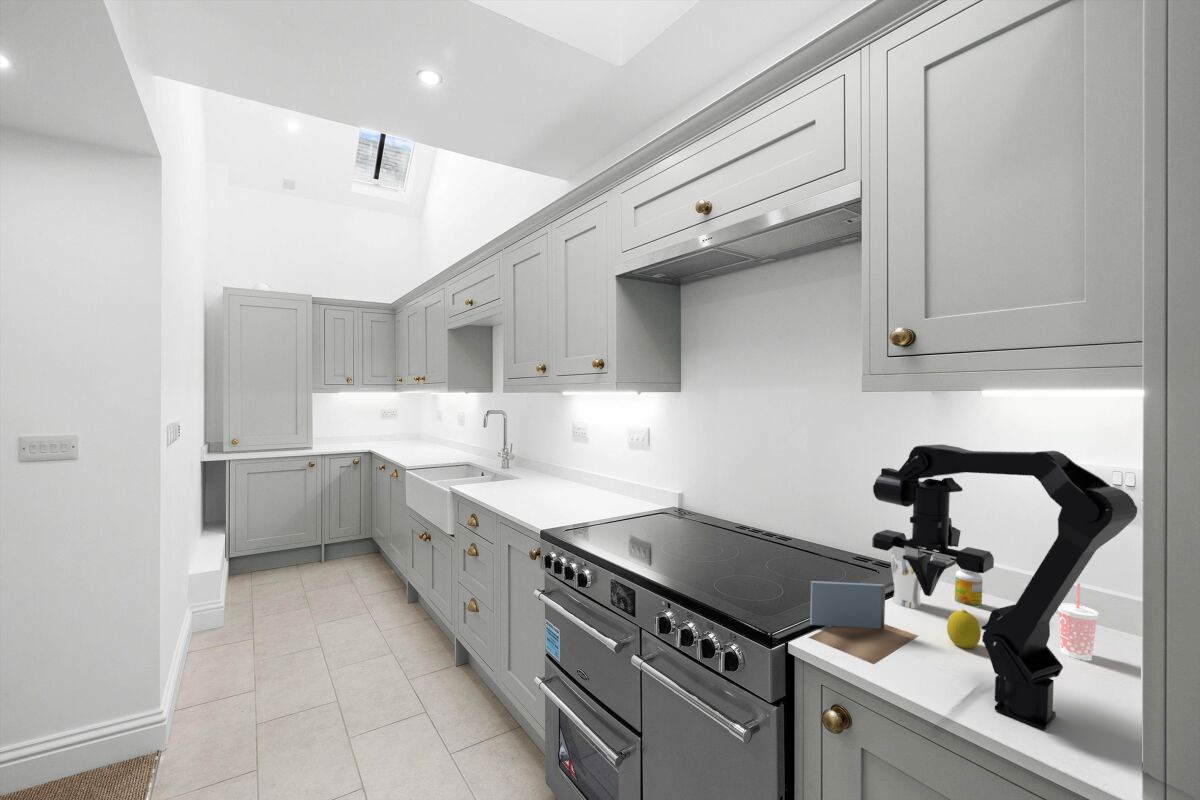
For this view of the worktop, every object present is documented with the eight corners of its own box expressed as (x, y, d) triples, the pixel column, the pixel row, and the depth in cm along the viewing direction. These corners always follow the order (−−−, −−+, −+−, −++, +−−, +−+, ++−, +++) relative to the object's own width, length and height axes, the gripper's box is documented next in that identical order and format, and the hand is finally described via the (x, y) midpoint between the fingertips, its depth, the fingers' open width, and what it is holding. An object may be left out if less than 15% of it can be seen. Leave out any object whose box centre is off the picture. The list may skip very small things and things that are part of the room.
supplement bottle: (949, 600, 132) (950, 560, 132) (969, 599, 133) (970, 560, 133) (966, 609, 127) (967, 568, 127) (987, 608, 128) (988, 567, 127)
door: (885, 628, 113) (886, 586, 113) (811, 624, 115) (812, 582, 114) (880, 624, 115) (881, 582, 115) (808, 620, 117) (809, 579, 116)
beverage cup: (1057, 643, 110) (1059, 575, 110) (1098, 654, 106) (1100, 583, 105) (1053, 654, 106) (1056, 583, 105) (1096, 666, 101) (1099, 592, 101)
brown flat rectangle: (918, 640, 111) (918, 635, 111) (873, 669, 99) (873, 663, 99) (855, 618, 121) (855, 613, 121) (808, 642, 110) (808, 637, 109)
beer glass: (885, 600, 132) (886, 539, 131) (915, 602, 131) (917, 540, 130) (896, 612, 125) (898, 547, 124) (929, 614, 124) (931, 549, 123)
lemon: (985, 658, 104) (986, 617, 104) (953, 655, 105) (954, 614, 105) (971, 644, 109) (973, 605, 109) (941, 641, 110) (942, 603, 110)
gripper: (1005, 516, 98) (1002, 601, 99) (897, 498, 113) (895, 572, 113) (983, 525, 91) (980, 616, 92) (872, 505, 106) (869, 584, 107)
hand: (928, 595), depth 101 cm, fingers closed
